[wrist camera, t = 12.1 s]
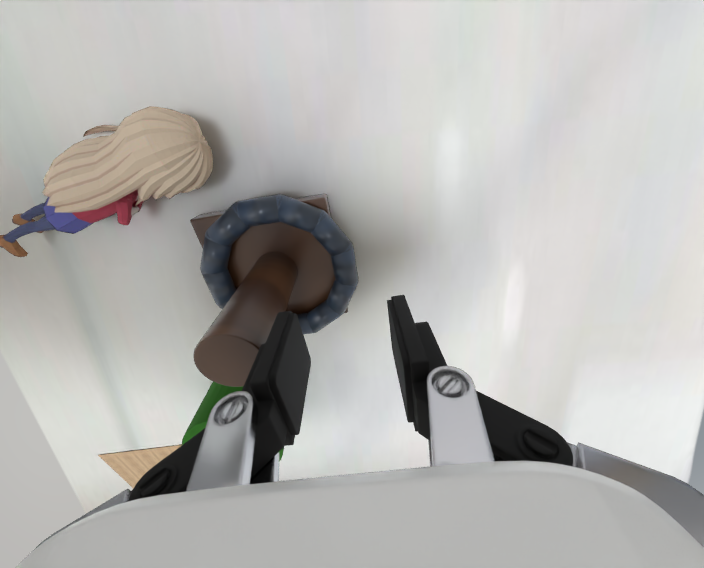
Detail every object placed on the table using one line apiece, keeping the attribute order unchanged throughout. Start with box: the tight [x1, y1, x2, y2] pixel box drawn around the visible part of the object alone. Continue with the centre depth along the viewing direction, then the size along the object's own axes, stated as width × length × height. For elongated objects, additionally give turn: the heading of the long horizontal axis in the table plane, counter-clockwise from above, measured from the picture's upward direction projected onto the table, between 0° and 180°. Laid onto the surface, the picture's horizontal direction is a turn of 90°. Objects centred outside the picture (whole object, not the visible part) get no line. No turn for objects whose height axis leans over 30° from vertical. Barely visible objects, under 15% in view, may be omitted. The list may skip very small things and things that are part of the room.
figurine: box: [0, 107, 213, 257], centre depth 15 cm, size 6×4×15 cm
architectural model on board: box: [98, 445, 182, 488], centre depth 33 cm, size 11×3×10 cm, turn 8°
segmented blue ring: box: [200, 194, 358, 334], centre depth 18 cm, size 10×10×2 cm
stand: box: [190, 194, 348, 387], centre depth 16 cm, size 9×9×10 cm
